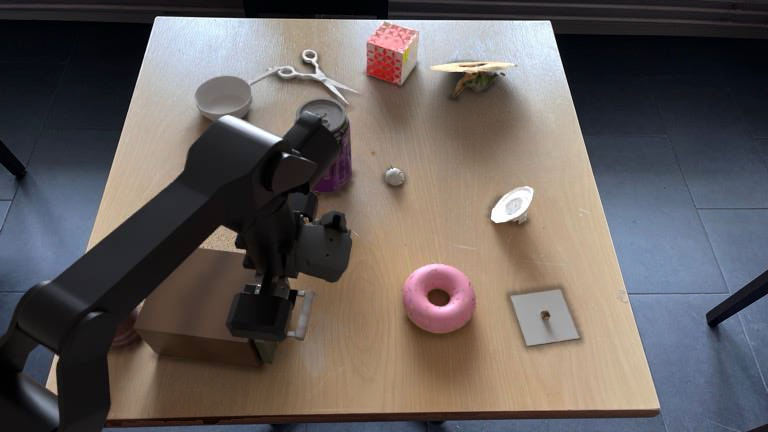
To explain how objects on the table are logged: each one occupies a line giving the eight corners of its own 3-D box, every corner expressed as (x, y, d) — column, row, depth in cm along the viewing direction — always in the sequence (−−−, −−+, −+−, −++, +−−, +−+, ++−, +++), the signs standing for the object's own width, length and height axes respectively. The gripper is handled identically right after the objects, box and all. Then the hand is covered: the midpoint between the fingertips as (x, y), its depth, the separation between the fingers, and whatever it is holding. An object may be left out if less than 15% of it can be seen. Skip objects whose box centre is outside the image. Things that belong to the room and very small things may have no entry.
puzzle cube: (400, 85, 107) (403, 53, 100) (366, 74, 108) (366, 41, 102) (416, 63, 111) (419, 31, 104) (383, 52, 113) (384, 20, 106)
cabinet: (281, 288, 79) (272, 256, 71) (260, 369, 72) (247, 343, 64) (188, 277, 80) (169, 243, 72) (158, 355, 73) (132, 328, 65)
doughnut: (422, 260, 83) (424, 246, 79) (485, 292, 80) (490, 279, 76) (387, 314, 77) (388, 302, 74) (454, 351, 74) (458, 340, 71)
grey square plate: (560, 289, 80) (564, 283, 79) (579, 338, 76) (583, 333, 74) (510, 296, 79) (513, 290, 78) (527, 345, 75) (530, 341, 73)
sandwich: (462, 82, 117) (469, 47, 114) (516, 100, 109) (526, 63, 105) (409, 91, 105) (414, 52, 102) (465, 112, 97) (473, 71, 93)
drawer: (320, 294, 78) (316, 268, 71) (304, 368, 71) (298, 347, 65) (203, 279, 79) (189, 252, 72) (177, 351, 72) (158, 329, 66)
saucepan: (189, 104, 102) (183, 88, 99) (268, 68, 109) (265, 52, 106) (215, 135, 97) (210, 120, 94) (296, 96, 104) (294, 80, 101)
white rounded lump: (390, 169, 93) (391, 159, 91) (409, 179, 92) (410, 169, 90) (380, 180, 92) (380, 170, 90) (399, 190, 91) (400, 181, 89)
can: (143, 351, 73) (102, 307, 62) (98, 350, 73) (47, 306, 61) (155, 311, 76) (117, 263, 65) (111, 310, 76) (66, 262, 65)
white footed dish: (508, 234, 90) (517, 240, 82) (485, 215, 90) (492, 219, 82) (539, 200, 90) (552, 202, 82) (516, 180, 90) (527, 180, 82)
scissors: (303, 44, 112) (374, 85, 105) (304, 47, 113) (374, 88, 106) (267, 69, 107) (339, 113, 100) (268, 72, 108) (339, 116, 101)
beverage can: (354, 194, 90) (352, 133, 78) (302, 198, 89) (292, 137, 77) (349, 156, 95) (347, 92, 83) (301, 159, 94) (291, 96, 82)
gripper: (327, 315, 47) (336, 373, 60) (358, 161, 58) (360, 238, 70) (207, 300, 48) (241, 360, 60) (260, 150, 58) (279, 228, 71)
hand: (286, 292), depth 66 cm, fingers open, 4 cm apart
